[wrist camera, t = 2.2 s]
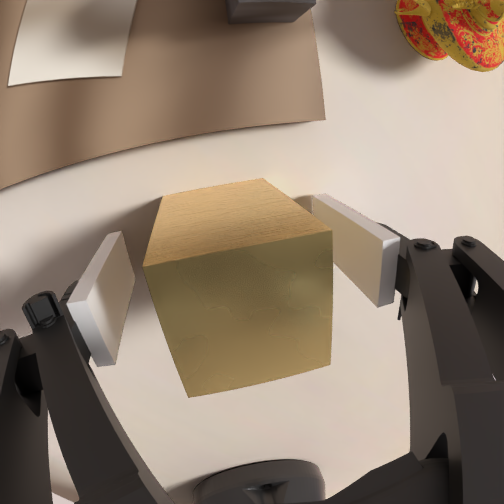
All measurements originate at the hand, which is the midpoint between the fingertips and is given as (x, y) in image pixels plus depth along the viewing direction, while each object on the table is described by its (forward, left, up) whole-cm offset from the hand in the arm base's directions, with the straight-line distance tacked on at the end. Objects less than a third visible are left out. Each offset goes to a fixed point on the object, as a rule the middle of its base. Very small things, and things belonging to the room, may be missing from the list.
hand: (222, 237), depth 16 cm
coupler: (0, 0, -1) cm, 1 cm away
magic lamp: (+20, 0, -1) cm, 20 cm away
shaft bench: (+3, +13, 0) cm, 13 cm away
